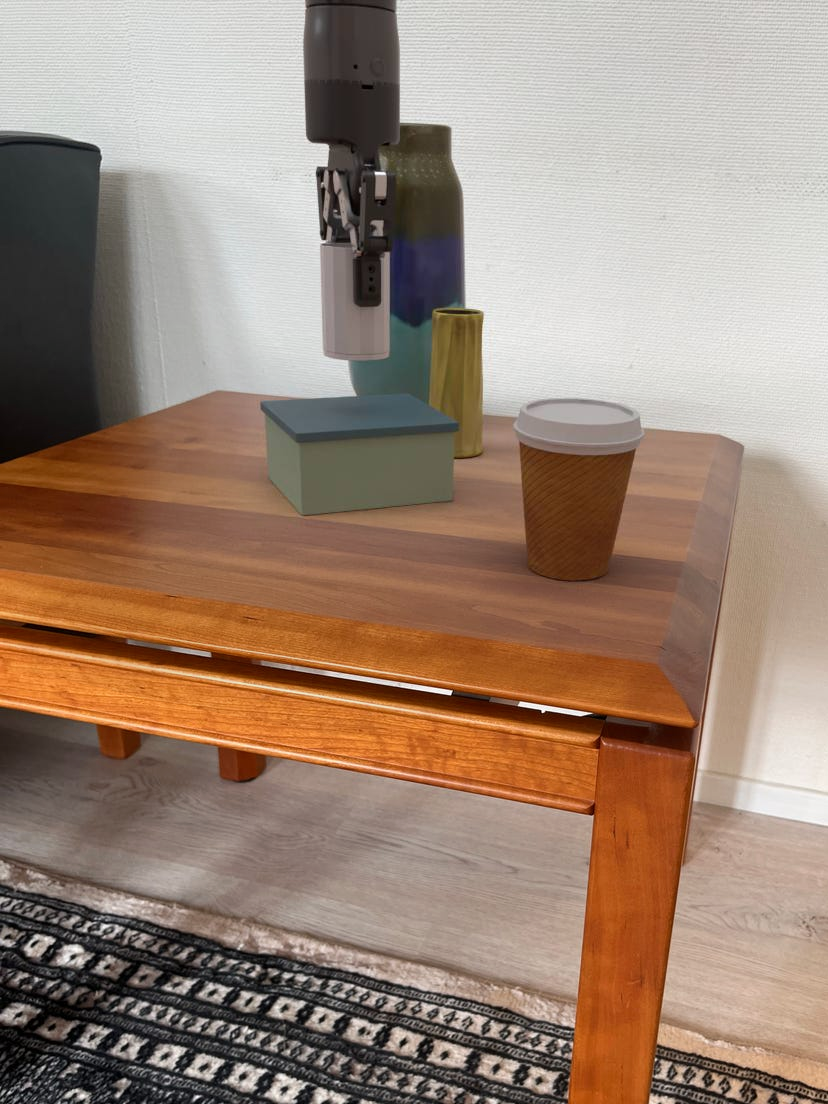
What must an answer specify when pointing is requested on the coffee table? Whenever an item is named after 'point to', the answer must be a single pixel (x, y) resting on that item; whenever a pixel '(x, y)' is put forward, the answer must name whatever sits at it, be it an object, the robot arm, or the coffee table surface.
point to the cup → (352, 309)
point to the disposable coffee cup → (574, 482)
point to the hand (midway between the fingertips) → (355, 300)
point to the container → (359, 452)
